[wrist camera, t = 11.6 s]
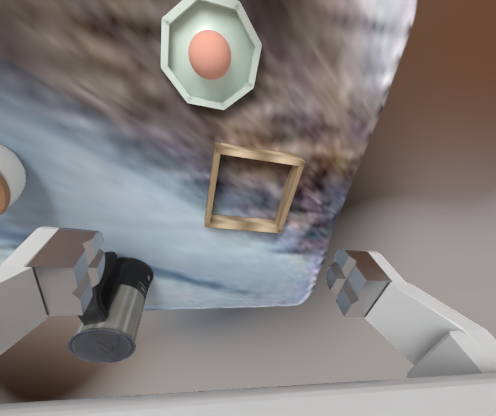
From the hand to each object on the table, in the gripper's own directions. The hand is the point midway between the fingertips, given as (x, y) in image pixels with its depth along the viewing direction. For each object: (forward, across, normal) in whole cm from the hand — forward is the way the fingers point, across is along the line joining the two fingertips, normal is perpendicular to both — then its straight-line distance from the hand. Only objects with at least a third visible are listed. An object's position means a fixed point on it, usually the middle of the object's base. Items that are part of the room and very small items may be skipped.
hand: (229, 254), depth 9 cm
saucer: (+31, +1, -6) cm, 32 cm away
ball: (+28, +1, -6) cm, 28 cm away
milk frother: (+31, +16, +34) cm, 49 cm away
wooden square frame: (+31, -8, +12) cm, 34 cm away
